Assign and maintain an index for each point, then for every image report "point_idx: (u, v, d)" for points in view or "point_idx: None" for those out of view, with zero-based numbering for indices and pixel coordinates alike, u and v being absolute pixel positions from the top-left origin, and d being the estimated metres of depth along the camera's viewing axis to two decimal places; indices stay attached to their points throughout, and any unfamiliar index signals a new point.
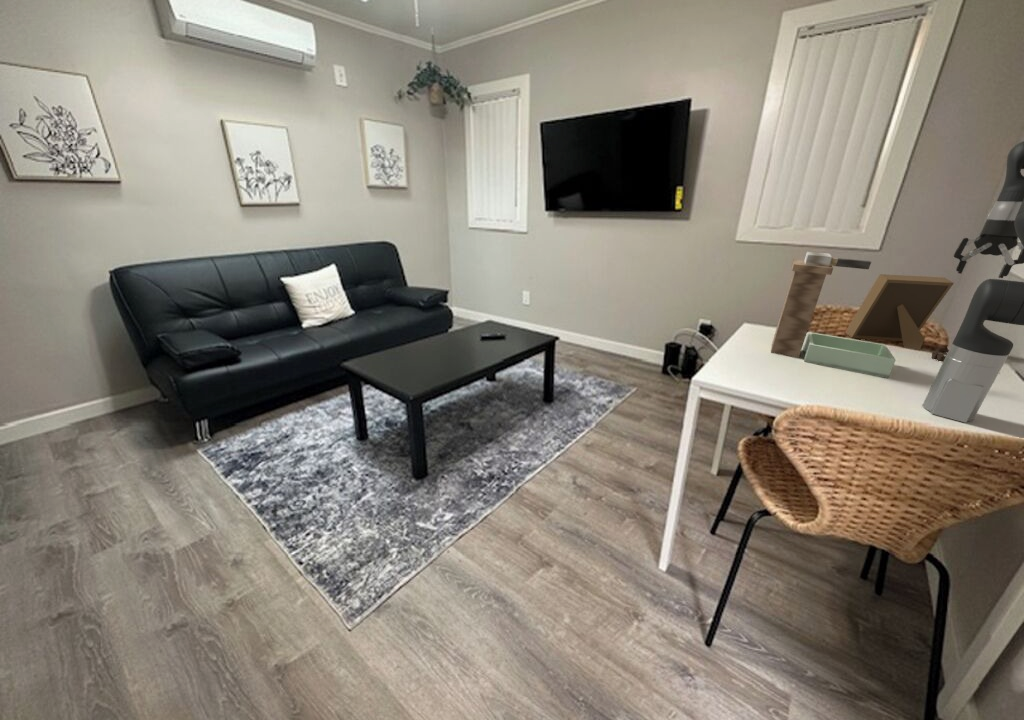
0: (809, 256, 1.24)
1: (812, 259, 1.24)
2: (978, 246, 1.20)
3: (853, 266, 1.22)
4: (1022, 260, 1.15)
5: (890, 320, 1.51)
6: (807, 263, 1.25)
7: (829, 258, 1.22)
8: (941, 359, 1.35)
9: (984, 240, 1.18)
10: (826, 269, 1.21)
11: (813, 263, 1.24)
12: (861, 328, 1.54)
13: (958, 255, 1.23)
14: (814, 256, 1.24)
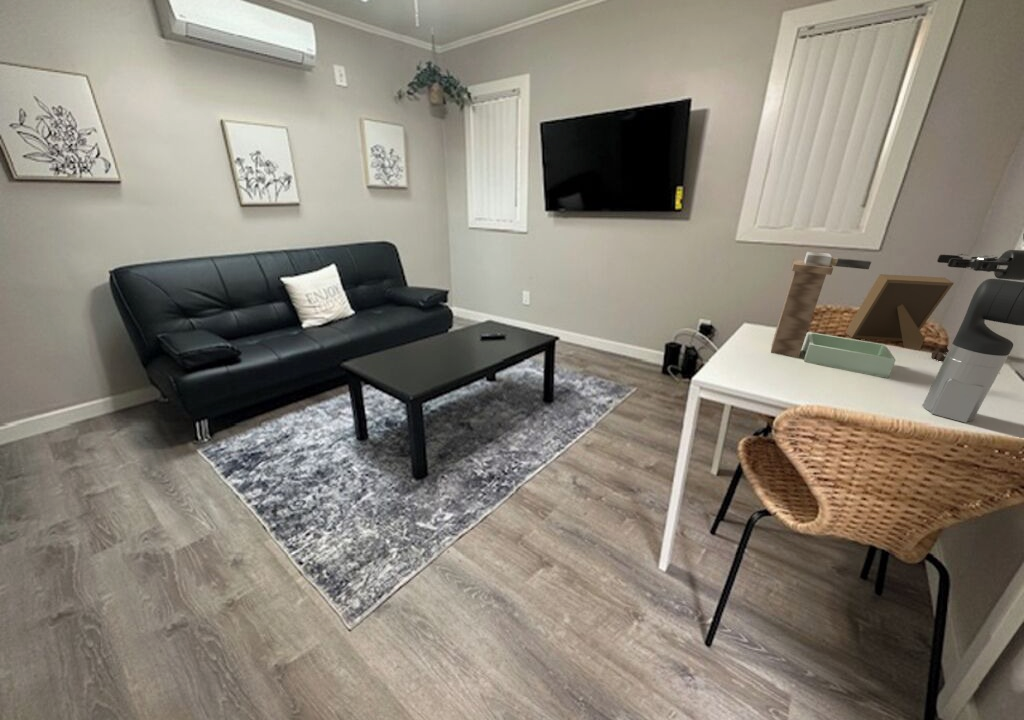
0: (809, 256, 1.24)
1: (812, 259, 1.24)
2: None
3: (853, 266, 1.22)
4: None
5: (890, 320, 1.51)
6: (807, 263, 1.25)
7: (829, 258, 1.22)
8: (941, 359, 1.35)
9: None
10: (826, 269, 1.21)
11: (813, 263, 1.24)
12: (861, 328, 1.54)
13: None
14: (814, 256, 1.24)
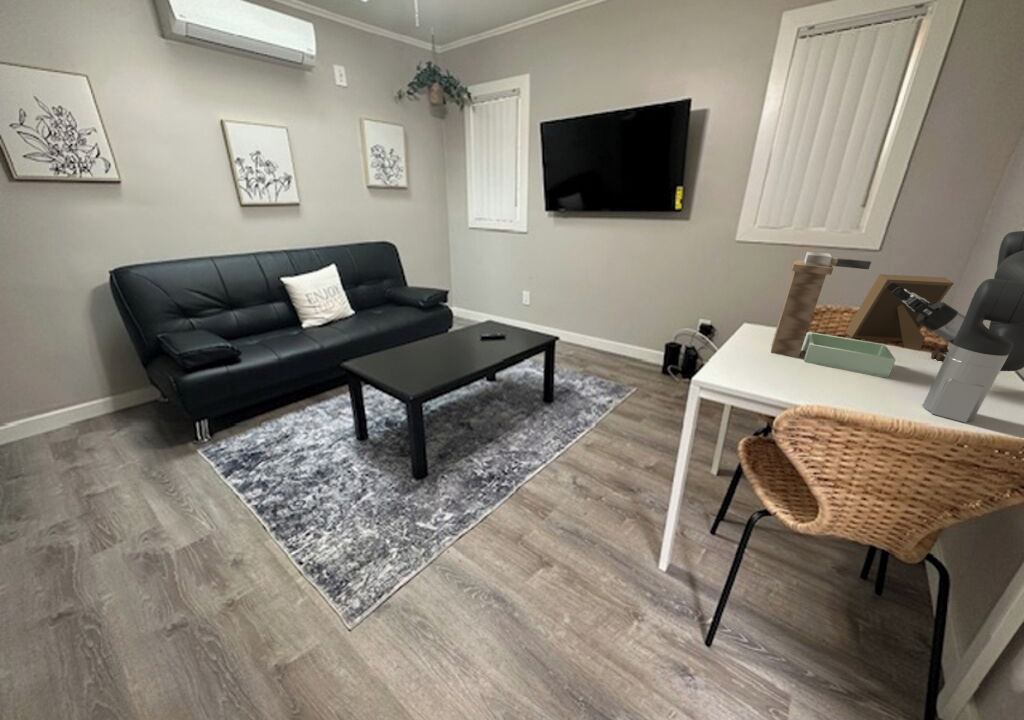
0: (809, 256, 1.24)
1: (812, 259, 1.24)
2: None
3: (853, 266, 1.22)
4: None
5: (890, 320, 1.51)
6: (807, 263, 1.25)
7: (829, 258, 1.22)
8: (940, 359, 1.35)
9: None
10: (826, 269, 1.21)
11: (813, 263, 1.24)
12: (861, 328, 1.54)
13: None
14: (814, 256, 1.24)
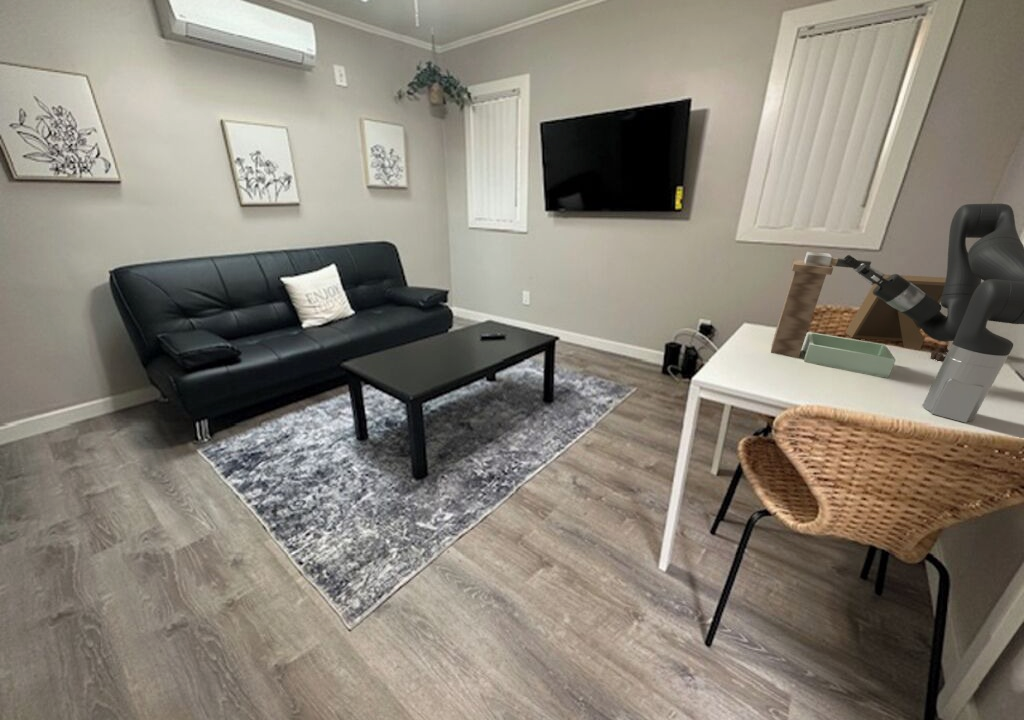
0: (809, 256, 1.24)
1: (812, 259, 1.24)
2: None
3: None
4: None
5: (890, 320, 1.51)
6: (807, 263, 1.25)
7: (829, 258, 1.22)
8: (940, 359, 1.35)
9: (878, 285, 1.19)
10: (826, 269, 1.21)
11: (813, 263, 1.24)
12: (861, 328, 1.54)
13: None
14: (814, 256, 1.24)
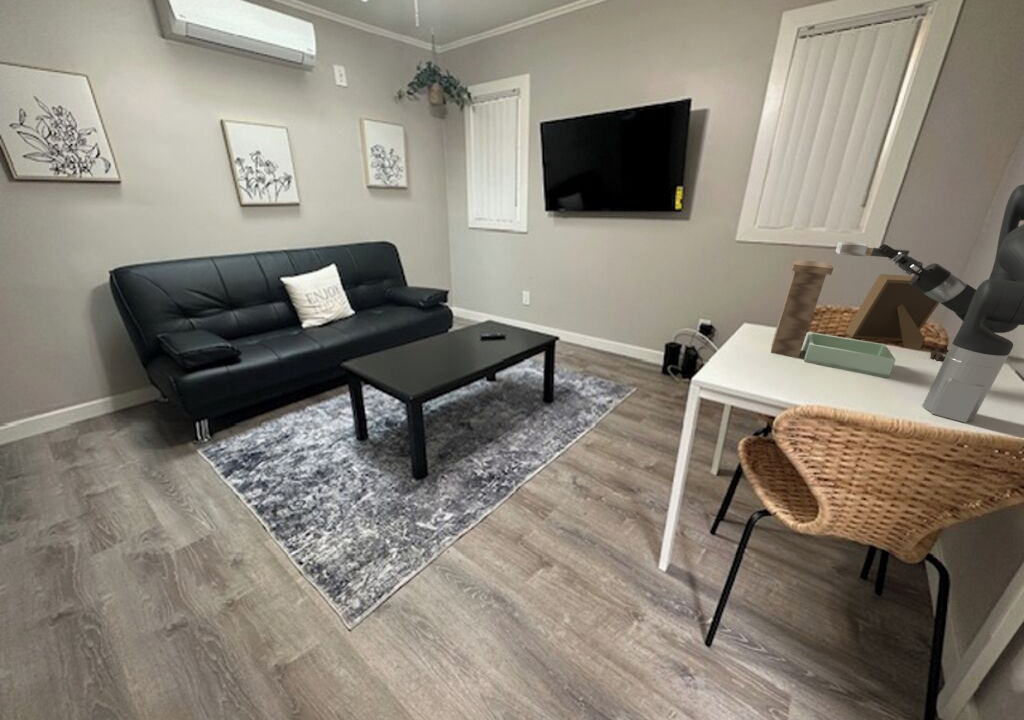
0: (843, 245, 1.19)
1: (846, 248, 1.19)
2: (907, 268, 1.15)
3: None
4: None
5: (890, 320, 1.51)
6: (841, 253, 1.20)
7: (865, 247, 1.17)
8: (940, 359, 1.35)
9: (916, 275, 1.14)
10: (826, 269, 1.21)
11: (847, 253, 1.19)
12: (861, 328, 1.54)
13: None
14: (849, 245, 1.18)
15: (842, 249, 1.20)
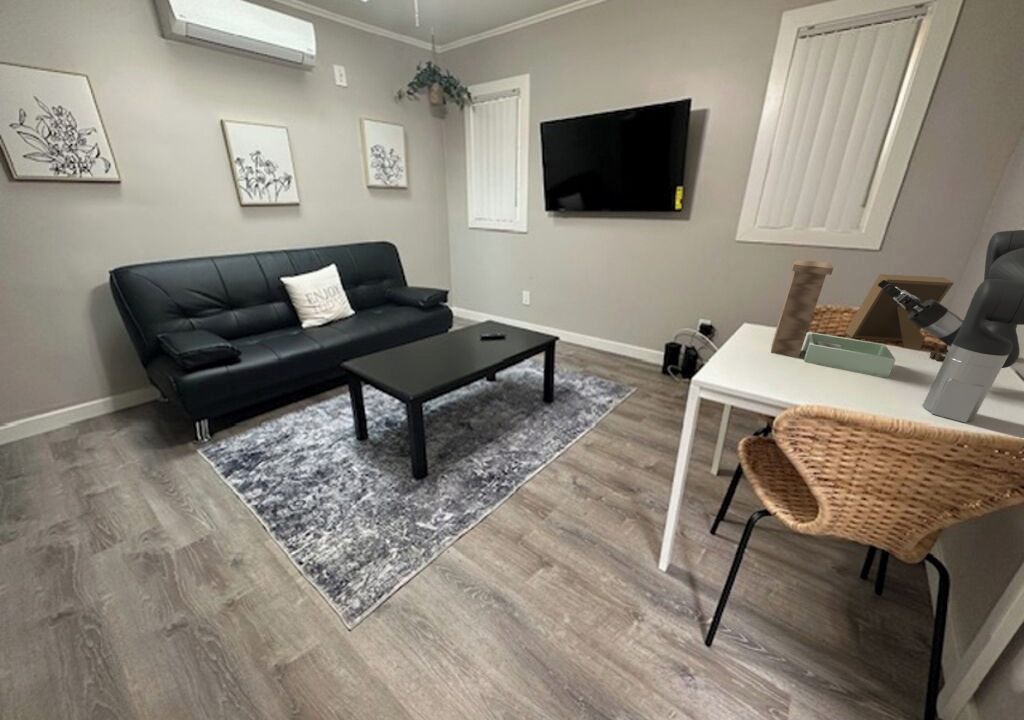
0: None
1: None
2: None
3: None
4: None
5: (890, 320, 1.51)
6: None
7: None
8: (939, 359, 1.35)
9: None
10: (826, 269, 1.21)
11: None
12: (861, 328, 1.54)
13: None
14: None
15: None
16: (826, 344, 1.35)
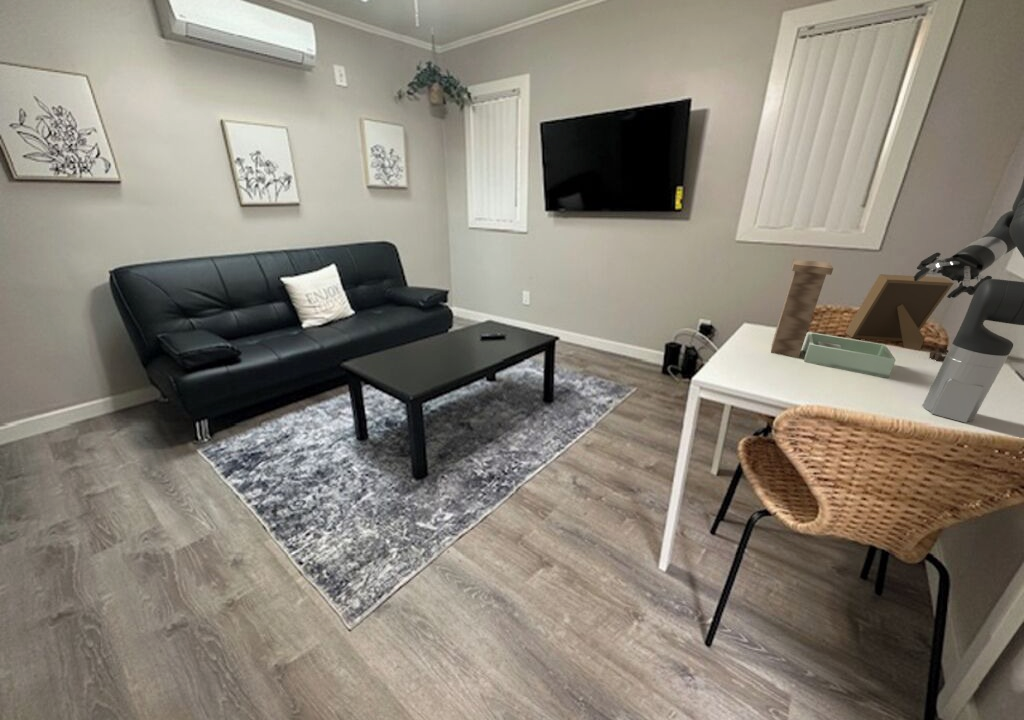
0: None
1: None
2: None
3: None
4: None
5: (890, 320, 1.51)
6: None
7: None
8: (939, 359, 1.35)
9: None
10: (826, 269, 1.21)
11: None
12: (861, 328, 1.54)
13: None
14: None
15: None
16: (826, 344, 1.35)
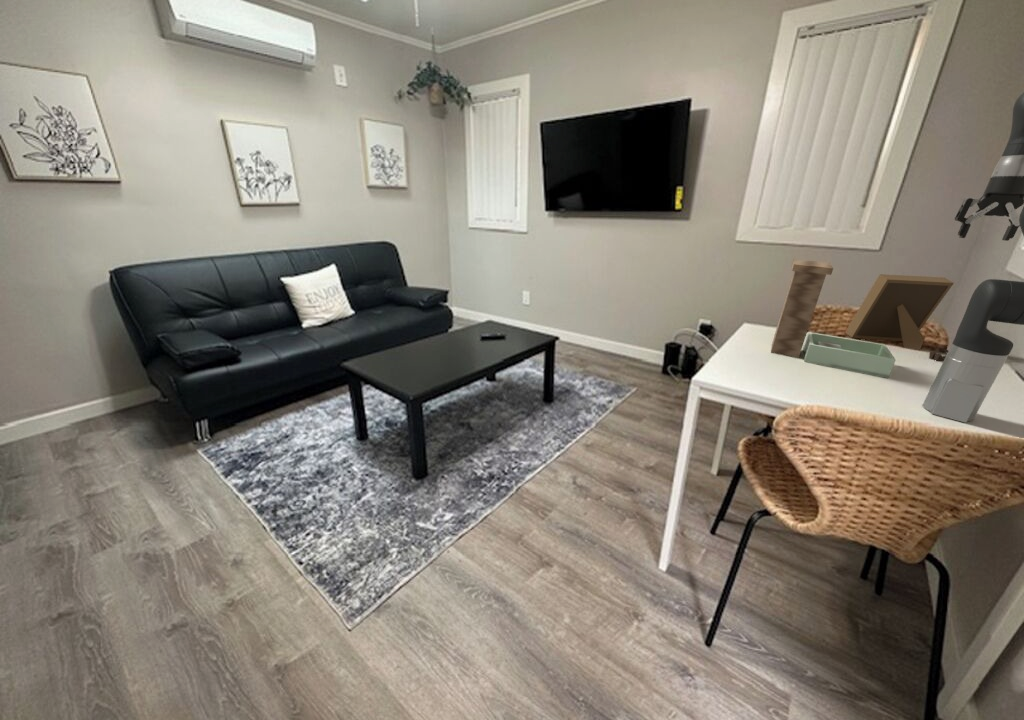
0: None
1: None
2: None
3: None
4: None
5: (890, 320, 1.51)
6: None
7: None
8: (938, 359, 1.35)
9: None
10: (826, 269, 1.21)
11: None
12: (861, 328, 1.54)
13: None
14: None
15: None
16: (826, 344, 1.35)
